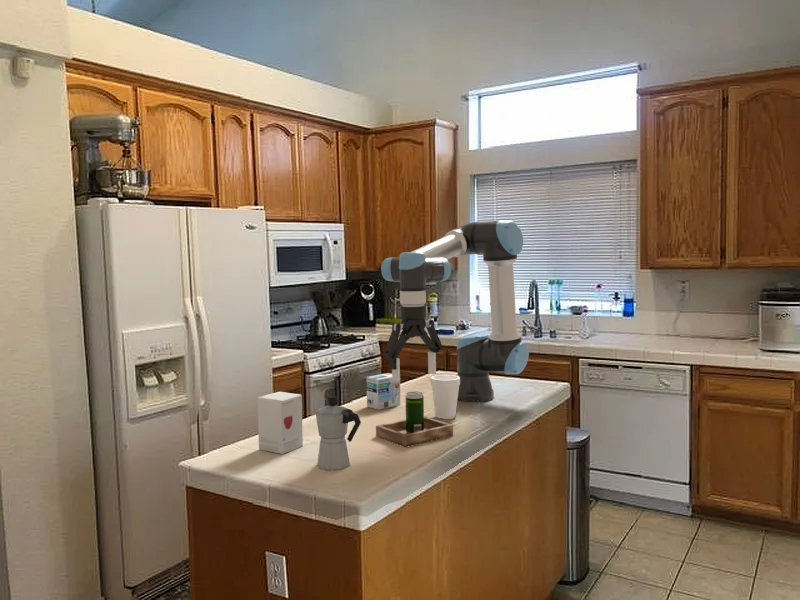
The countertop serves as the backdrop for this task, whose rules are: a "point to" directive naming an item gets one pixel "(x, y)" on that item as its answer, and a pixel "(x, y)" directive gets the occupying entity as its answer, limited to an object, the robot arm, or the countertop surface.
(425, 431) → the tray
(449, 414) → the foam cup
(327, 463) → the coffee maker
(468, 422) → the countertop surface
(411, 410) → the beer can
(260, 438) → the supplement box
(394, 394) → the light bulb box
